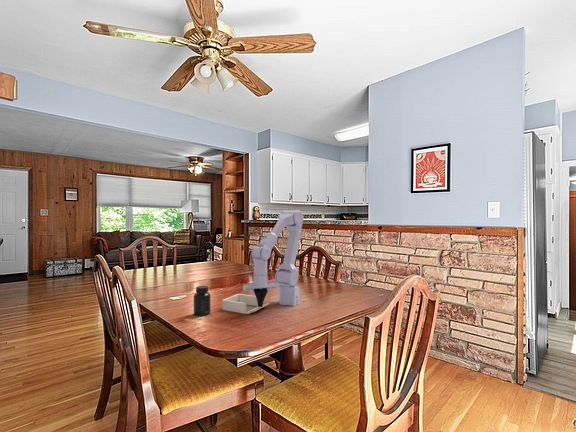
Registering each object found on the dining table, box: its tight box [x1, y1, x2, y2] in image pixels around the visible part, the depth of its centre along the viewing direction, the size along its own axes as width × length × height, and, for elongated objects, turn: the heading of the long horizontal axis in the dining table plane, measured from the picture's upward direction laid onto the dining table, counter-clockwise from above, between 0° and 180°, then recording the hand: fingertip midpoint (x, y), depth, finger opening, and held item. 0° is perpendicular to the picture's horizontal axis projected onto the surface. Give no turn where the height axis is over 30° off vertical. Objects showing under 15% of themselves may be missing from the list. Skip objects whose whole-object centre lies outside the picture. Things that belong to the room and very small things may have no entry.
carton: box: [221, 293, 259, 314], centre depth 137 cm, size 12×12×5 cm
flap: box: [246, 302, 270, 315], centre depth 133 cm, size 1×12×4 cm
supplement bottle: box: [193, 285, 212, 317], centre depth 129 cm, size 7×7×12 cm
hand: (260, 306), depth 133 cm, fingers closed, pressing on flap
